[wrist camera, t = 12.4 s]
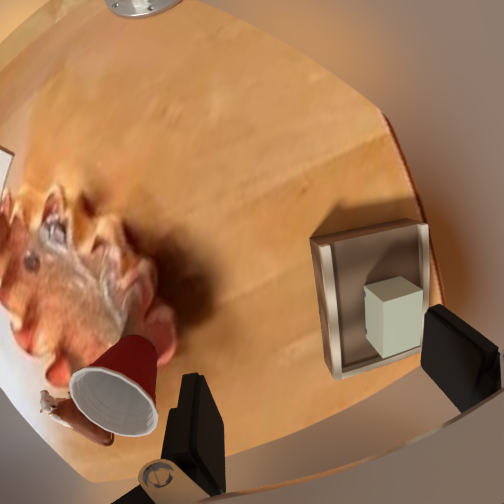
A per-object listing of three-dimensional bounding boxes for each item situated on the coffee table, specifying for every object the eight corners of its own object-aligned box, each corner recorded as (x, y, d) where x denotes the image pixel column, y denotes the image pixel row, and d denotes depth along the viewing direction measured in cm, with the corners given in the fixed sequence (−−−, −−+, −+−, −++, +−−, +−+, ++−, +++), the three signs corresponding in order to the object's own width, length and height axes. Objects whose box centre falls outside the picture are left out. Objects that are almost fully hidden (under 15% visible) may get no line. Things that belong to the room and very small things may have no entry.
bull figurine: (58, 367, 38) (35, 396, 31) (125, 415, 41) (112, 450, 33) (51, 381, 39) (30, 409, 31) (115, 427, 42) (102, 460, 34)
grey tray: (309, 238, 36) (321, 247, 31) (406, 218, 37) (427, 224, 32) (324, 361, 41) (334, 381, 36) (409, 334, 41) (425, 350, 36)
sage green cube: (359, 283, 34) (382, 302, 28) (397, 273, 34) (423, 289, 28) (362, 334, 35) (382, 358, 30) (397, 323, 36) (420, 344, 30)
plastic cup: (88, 346, 38) (52, 395, 26) (131, 303, 37) (96, 350, 25) (142, 394, 40) (123, 450, 28) (190, 358, 39) (178, 417, 27)
